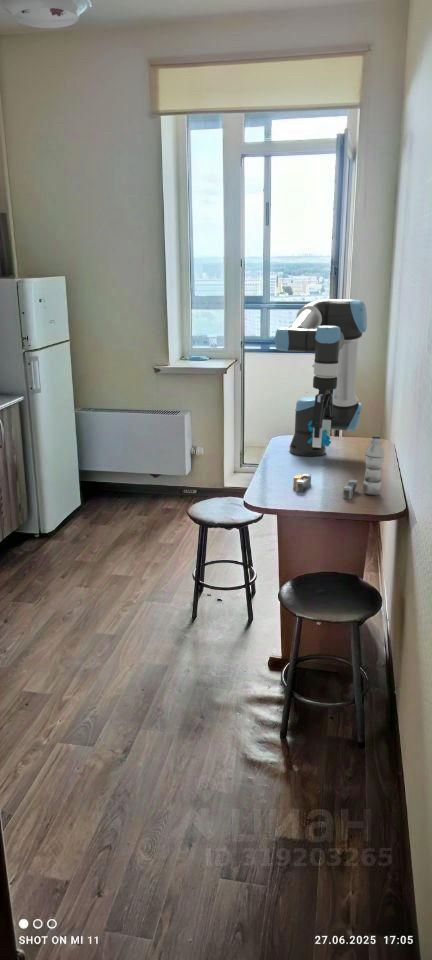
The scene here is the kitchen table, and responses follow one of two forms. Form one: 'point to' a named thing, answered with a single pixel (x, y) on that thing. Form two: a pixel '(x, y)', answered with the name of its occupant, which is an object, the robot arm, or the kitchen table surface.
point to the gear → (325, 438)
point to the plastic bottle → (373, 467)
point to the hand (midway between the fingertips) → (321, 443)
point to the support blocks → (305, 481)
